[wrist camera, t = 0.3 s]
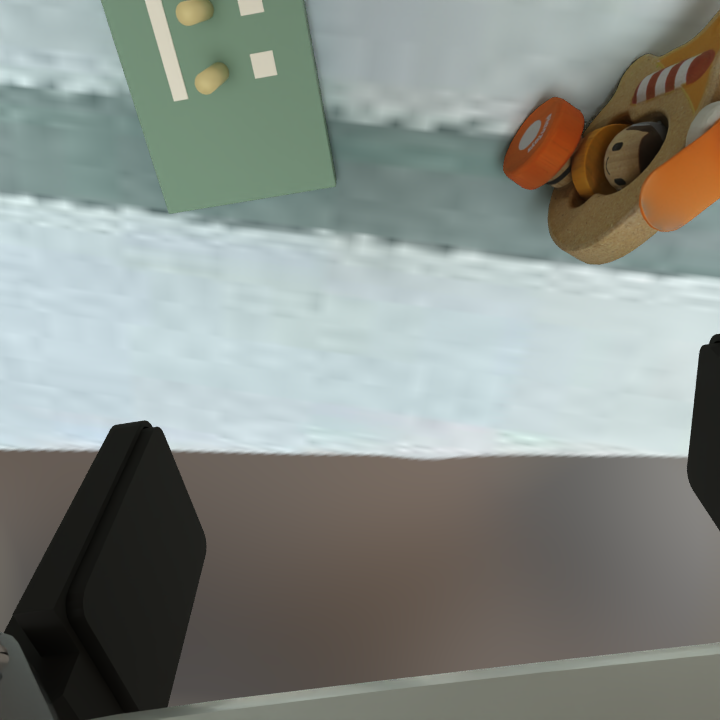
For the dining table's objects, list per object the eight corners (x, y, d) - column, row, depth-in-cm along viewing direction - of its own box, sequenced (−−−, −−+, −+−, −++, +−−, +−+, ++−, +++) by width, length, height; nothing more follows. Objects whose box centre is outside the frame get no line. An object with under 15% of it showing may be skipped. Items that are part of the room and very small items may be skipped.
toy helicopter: (482, 176, 39) (538, 264, 27) (757, -202, 30) (1013, -312, 19) (584, 245, 42) (676, 353, 30) (867, -88, 33) (1157, -121, 21)
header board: (42, -218, 30) (-16, -254, 25) (256, -265, 29) (237, -310, 24) (175, 206, 40) (151, 237, 35) (336, 179, 39) (334, 208, 34)
